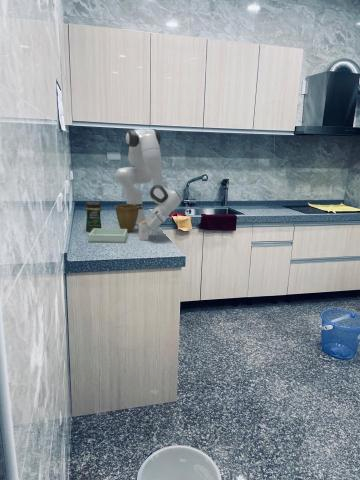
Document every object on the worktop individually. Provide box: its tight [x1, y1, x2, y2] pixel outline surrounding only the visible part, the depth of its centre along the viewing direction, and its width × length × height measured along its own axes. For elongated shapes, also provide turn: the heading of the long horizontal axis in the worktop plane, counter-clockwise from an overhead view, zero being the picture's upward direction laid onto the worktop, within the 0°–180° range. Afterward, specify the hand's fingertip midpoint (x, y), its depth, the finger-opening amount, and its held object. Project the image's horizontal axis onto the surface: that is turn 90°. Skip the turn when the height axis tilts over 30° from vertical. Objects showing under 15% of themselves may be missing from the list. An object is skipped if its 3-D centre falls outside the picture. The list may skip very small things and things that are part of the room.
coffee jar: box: [85, 201, 102, 232], centre depth 224 cm, size 10×8×19 cm
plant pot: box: [114, 204, 139, 233], centre depth 226 cm, size 15×15×16 cm
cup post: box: [138, 223, 149, 241], centre depth 208 cm, size 5×5×9 cm
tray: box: [87, 228, 128, 244], centre depth 206 cm, size 18×20×4 cm
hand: (142, 230), depth 207 cm, fingers open, 5 cm apart
